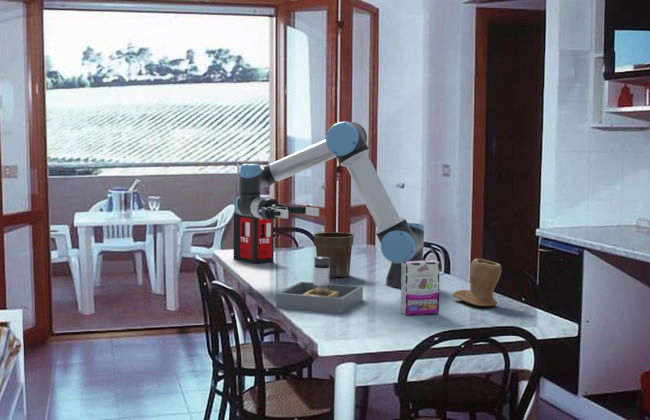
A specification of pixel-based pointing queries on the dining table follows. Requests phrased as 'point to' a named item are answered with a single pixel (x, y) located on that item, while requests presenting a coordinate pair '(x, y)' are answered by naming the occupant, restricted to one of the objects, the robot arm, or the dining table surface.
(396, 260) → the robot arm
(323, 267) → the two-tone metal cylinder
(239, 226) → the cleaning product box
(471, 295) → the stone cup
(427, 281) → the candy bar box
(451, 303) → the dining table surface
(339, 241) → the plant pot
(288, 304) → the walled tray
